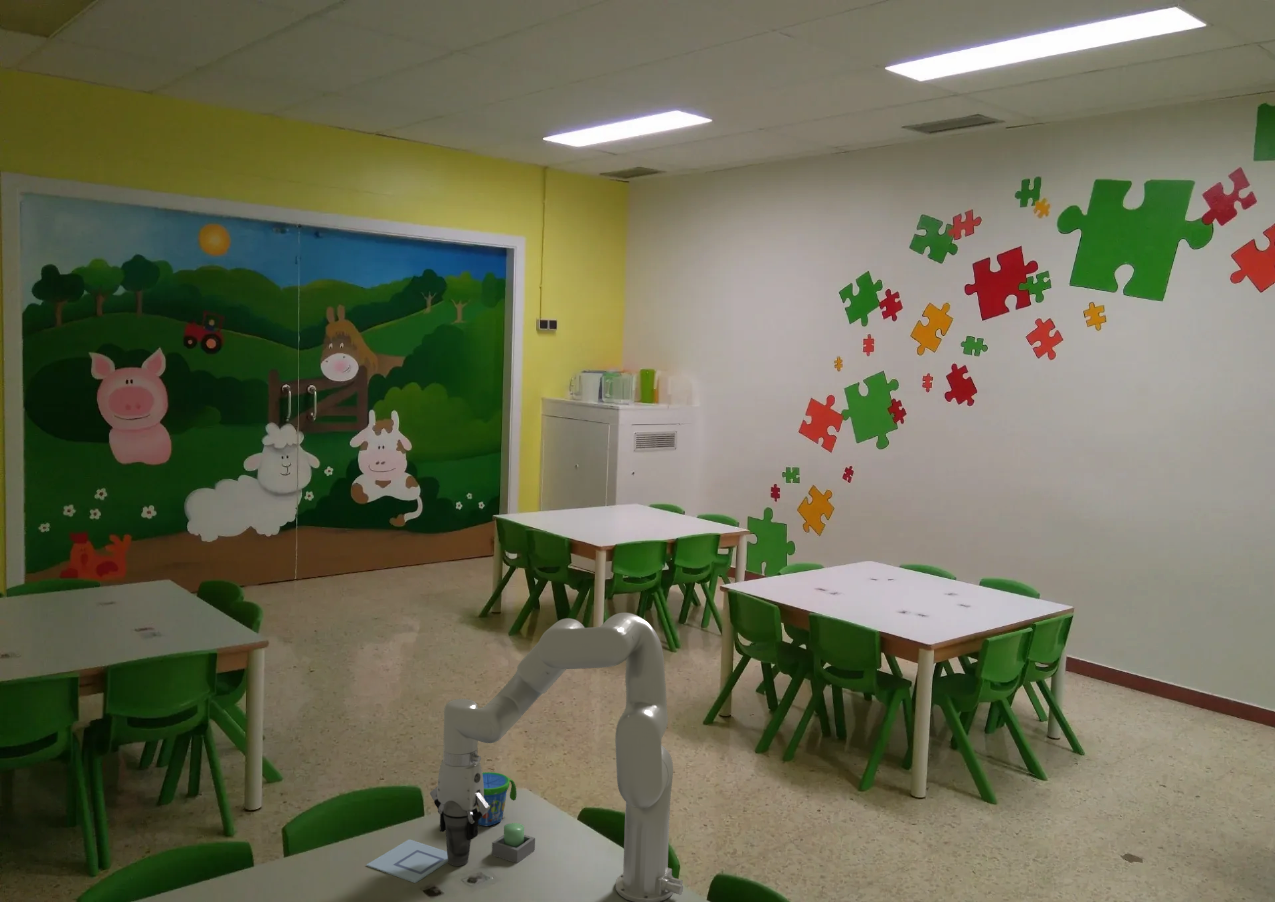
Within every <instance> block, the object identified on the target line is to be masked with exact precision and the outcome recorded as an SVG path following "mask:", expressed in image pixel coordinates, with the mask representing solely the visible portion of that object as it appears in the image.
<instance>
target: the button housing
mask: <svg viewBox="0 0 1275 902" xmlns="http://www.w3.org/2000/svg"><path fill="white" fill-rule="evenodd" d="M535 847H536V838H535V837H533V836H530V835H527V834H524V843H523V844H522V845H520V846H519V847H517V848H515V847H512V846H508V845H505V844H504V834H503V835H501V836H500V837H498V838H497V839H496V840H494V841H492V842H491V856H493V857H495V858H498V859H502V860H504V861H505V860H506V861H510V862H513V863H515V864H518V863H520V862H522V861H523V860H524V859H525V858H527V857H528V856H529V855H530V853H531V852H532V853H533V852H535V851H536V848H535ZM534 850H535V851H534ZM532 853H531V854H532ZM526 856H527V857H526Z"/></svg>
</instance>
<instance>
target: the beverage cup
mask: <svg viewBox="0 0 1275 902" xmlns="http://www.w3.org/2000/svg"><path fill="white" fill-rule="evenodd" d="M472 813H473V816H474V810H472ZM443 814H444V821H445V829H446V831H445V841H446V842H445V843H446V851H447V856H448V862H447V863H448V864H449V865H451V866H453V867H454V866H456V867H458V866H459V867H460V866H463V865H466V864H467V863H468V862H469V856H470V851H471V842H472V839H471V840H470V841H469V840H467V823H468V822H469V819H468V816H467V812H466V811H465V810H463V809H462V808H461V806H460V805H459V804H458V803H456V802H455V801H447V802H446V803H445V804H444V809H443Z"/></svg>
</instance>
